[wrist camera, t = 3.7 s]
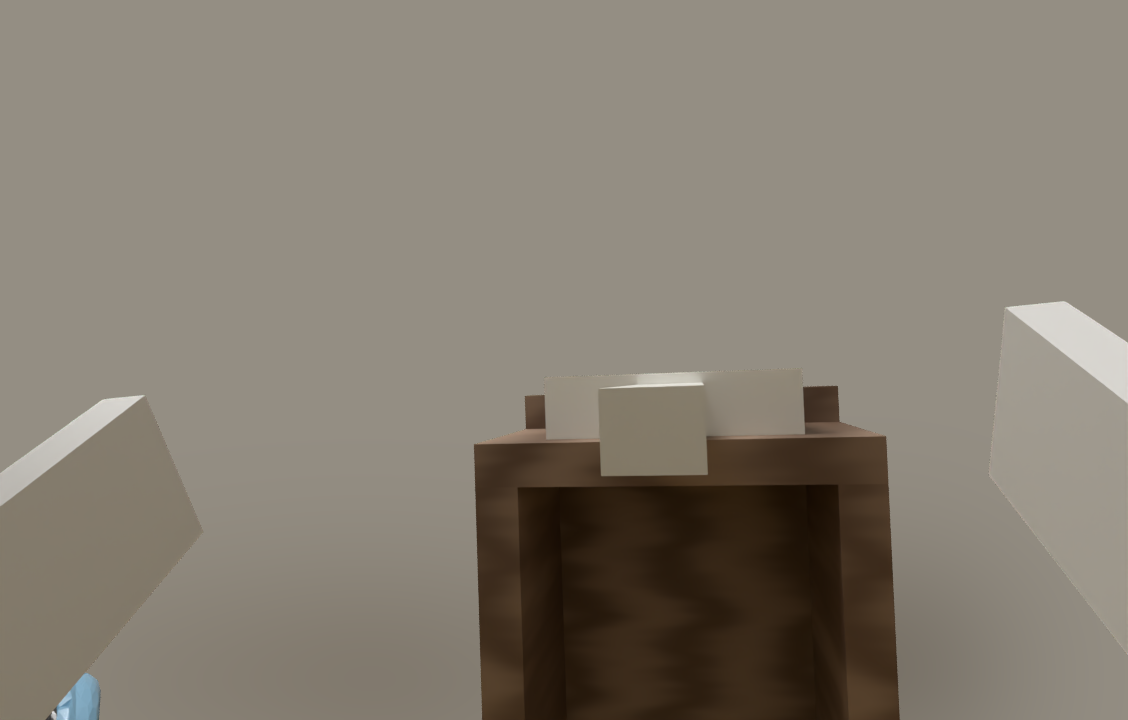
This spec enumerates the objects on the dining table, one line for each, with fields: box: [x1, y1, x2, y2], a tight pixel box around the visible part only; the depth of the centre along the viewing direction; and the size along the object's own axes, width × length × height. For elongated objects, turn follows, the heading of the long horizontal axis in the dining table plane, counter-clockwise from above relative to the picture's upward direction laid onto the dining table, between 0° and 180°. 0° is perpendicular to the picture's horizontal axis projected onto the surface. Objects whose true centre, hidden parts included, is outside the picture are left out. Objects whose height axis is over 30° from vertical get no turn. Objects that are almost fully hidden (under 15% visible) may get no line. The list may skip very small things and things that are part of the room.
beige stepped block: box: [544, 368, 805, 476], centre depth 32 cm, size 12×22×3 cm, turn 170°
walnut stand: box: [474, 386, 900, 720], centre depth 38 cm, size 18×12×32 cm, turn 80°
